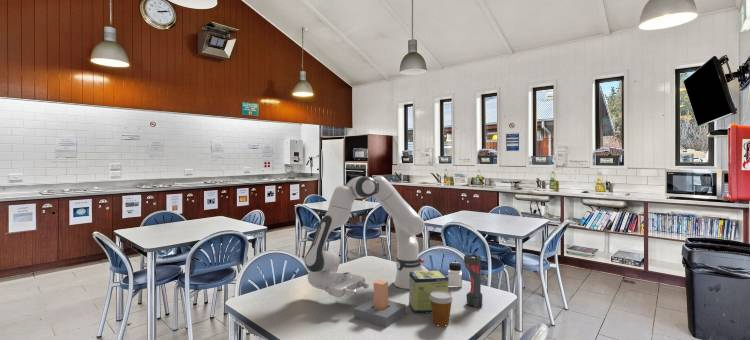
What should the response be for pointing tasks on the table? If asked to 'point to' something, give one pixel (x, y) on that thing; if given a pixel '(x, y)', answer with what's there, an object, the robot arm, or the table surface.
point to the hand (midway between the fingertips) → (361, 289)
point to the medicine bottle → (455, 274)
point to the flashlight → (474, 279)
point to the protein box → (425, 289)
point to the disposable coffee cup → (441, 307)
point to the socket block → (380, 313)
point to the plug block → (381, 295)
